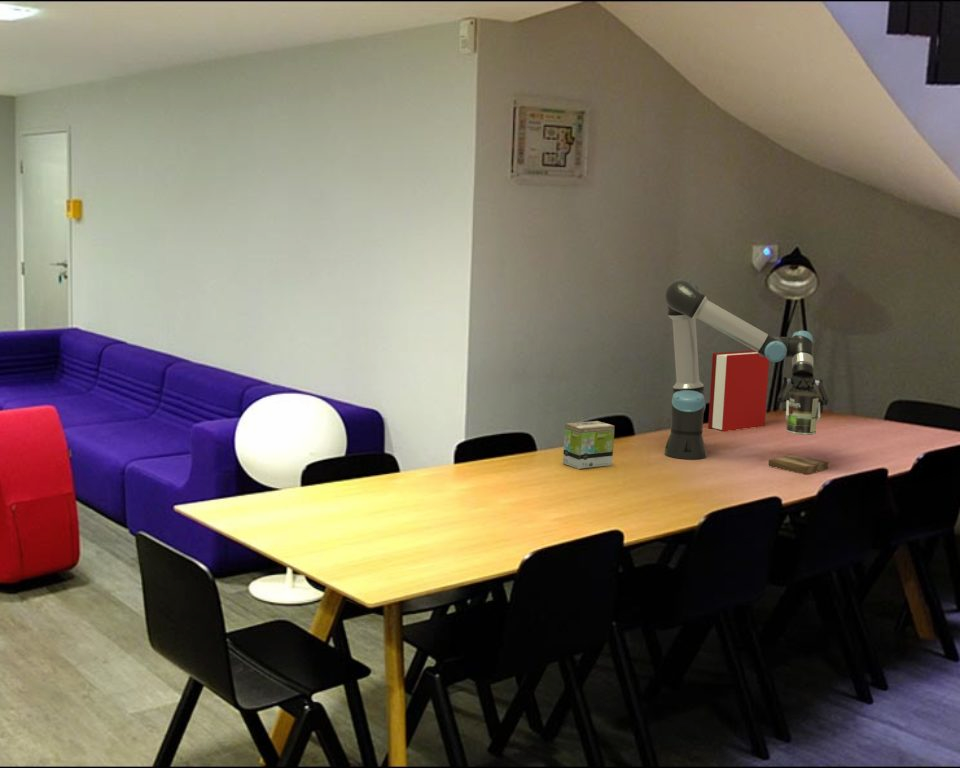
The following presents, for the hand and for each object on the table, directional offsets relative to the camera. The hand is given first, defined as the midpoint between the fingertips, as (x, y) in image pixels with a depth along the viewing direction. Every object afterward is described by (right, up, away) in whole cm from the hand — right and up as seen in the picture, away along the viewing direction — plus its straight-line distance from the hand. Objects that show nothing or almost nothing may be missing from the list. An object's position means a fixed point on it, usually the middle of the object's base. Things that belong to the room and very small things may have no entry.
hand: (802, 418), depth 382 cm
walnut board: (0, -18, +6) cm, 19 cm away
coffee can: (+1, -5, +4) cm, 6 cm away
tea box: (-76, -17, +1) cm, 78 cm away
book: (-4, -6, +79) cm, 79 cm away
